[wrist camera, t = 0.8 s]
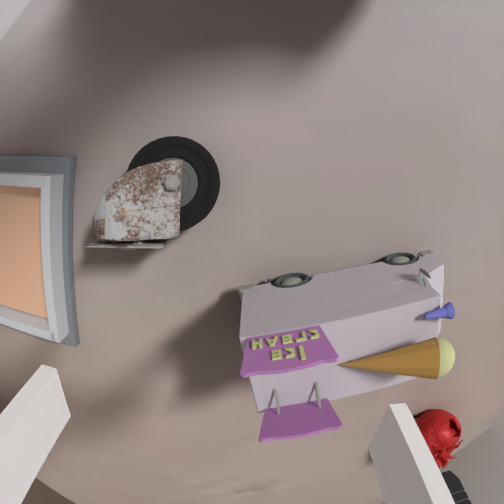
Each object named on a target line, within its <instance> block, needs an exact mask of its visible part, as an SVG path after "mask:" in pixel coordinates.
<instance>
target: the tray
mask: <svg viewBox="0 0 504 504" xmlns="http://www.w3.org/2000/svg"><path fill="white" fill-rule="evenodd" d="M75 165H76V157H64V156H0V323H1V324H3V325H6V326H9V327H12V328H14V329H17V330H20V331H23V332H26V333H29V334H32V335H35V336H38V337H41V338H44V339H47V340H51V341H54V342H57V343H60V342H61V343H64V344H68V345H71V346H75V347H77V345H78V344H79V343H80V341H79V333H78V325H77V315H76V304H75V290H74V273H73V195H74V178H75Z"/></svg>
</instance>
